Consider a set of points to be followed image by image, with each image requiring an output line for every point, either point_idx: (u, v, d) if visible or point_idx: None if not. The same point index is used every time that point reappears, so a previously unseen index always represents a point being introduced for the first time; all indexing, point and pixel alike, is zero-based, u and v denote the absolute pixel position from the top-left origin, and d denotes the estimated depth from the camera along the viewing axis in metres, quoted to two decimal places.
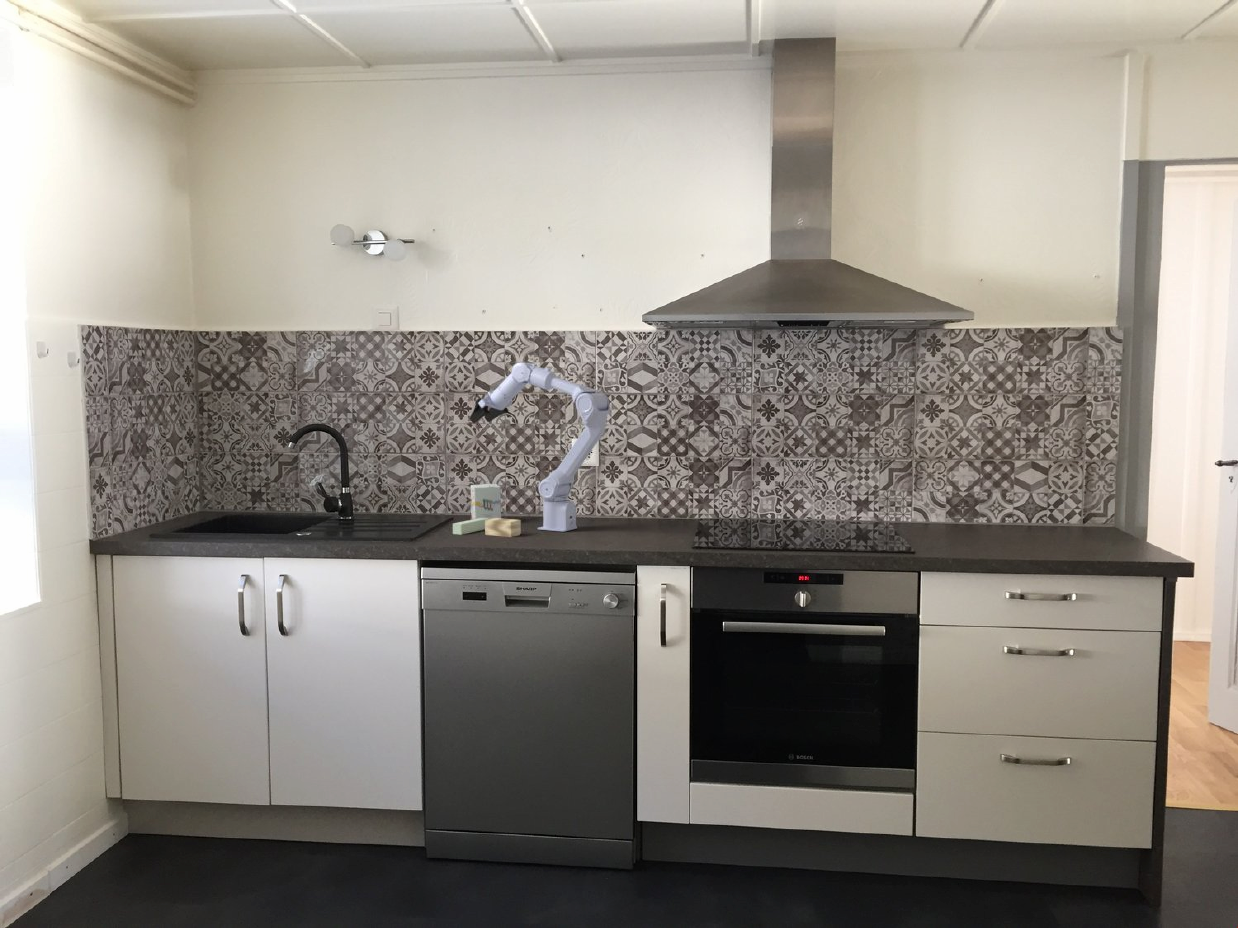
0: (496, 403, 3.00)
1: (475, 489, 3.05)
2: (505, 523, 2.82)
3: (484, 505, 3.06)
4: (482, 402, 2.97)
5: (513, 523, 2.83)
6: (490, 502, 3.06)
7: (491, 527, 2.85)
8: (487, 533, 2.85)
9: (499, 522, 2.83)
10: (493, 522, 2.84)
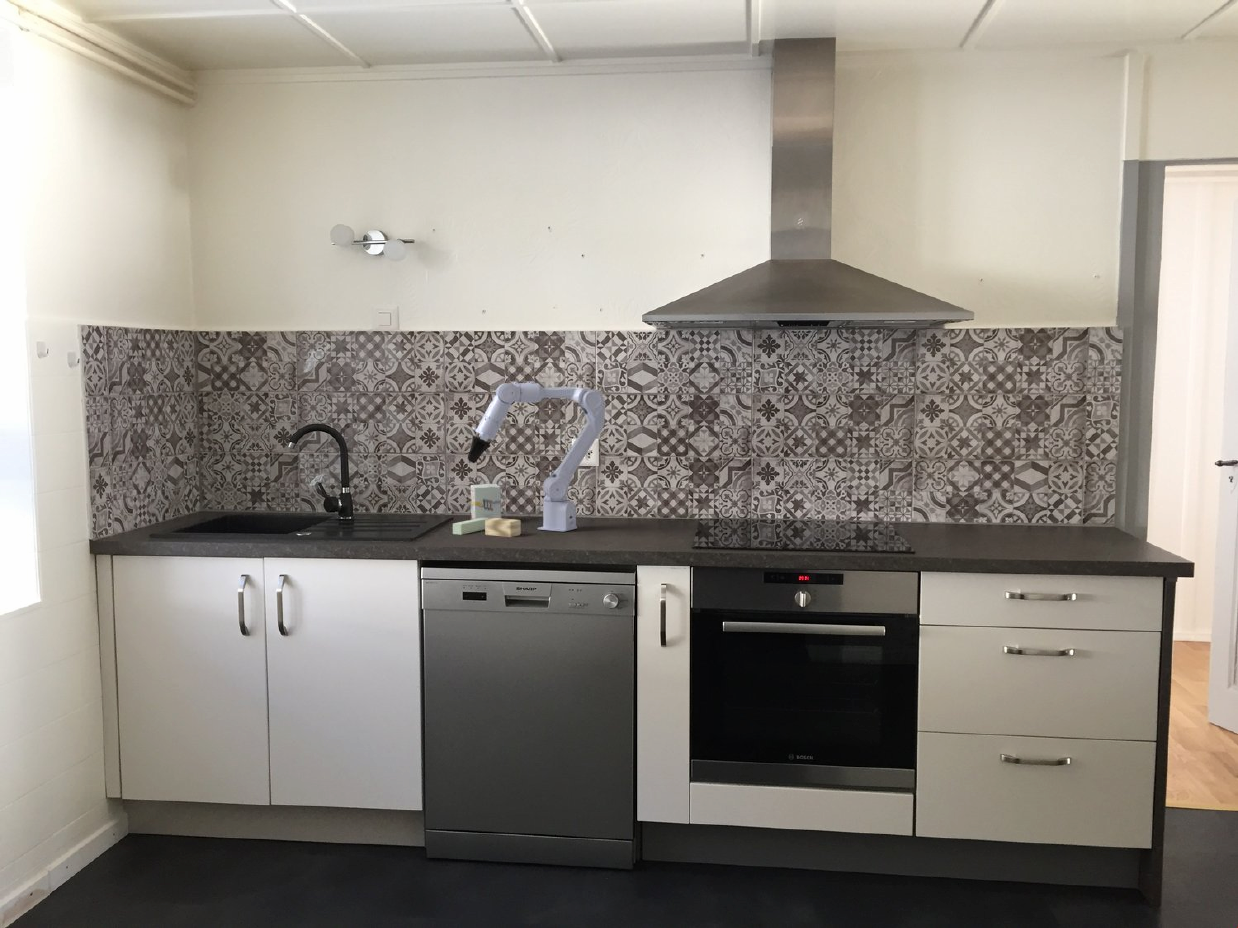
0: (490, 434, 2.87)
1: (475, 489, 3.05)
2: (505, 523, 2.82)
3: (484, 505, 3.06)
4: (485, 435, 2.82)
5: (513, 523, 2.82)
6: (490, 502, 3.06)
7: (491, 527, 2.85)
8: (487, 533, 2.86)
9: (499, 522, 2.83)
10: (493, 522, 2.84)
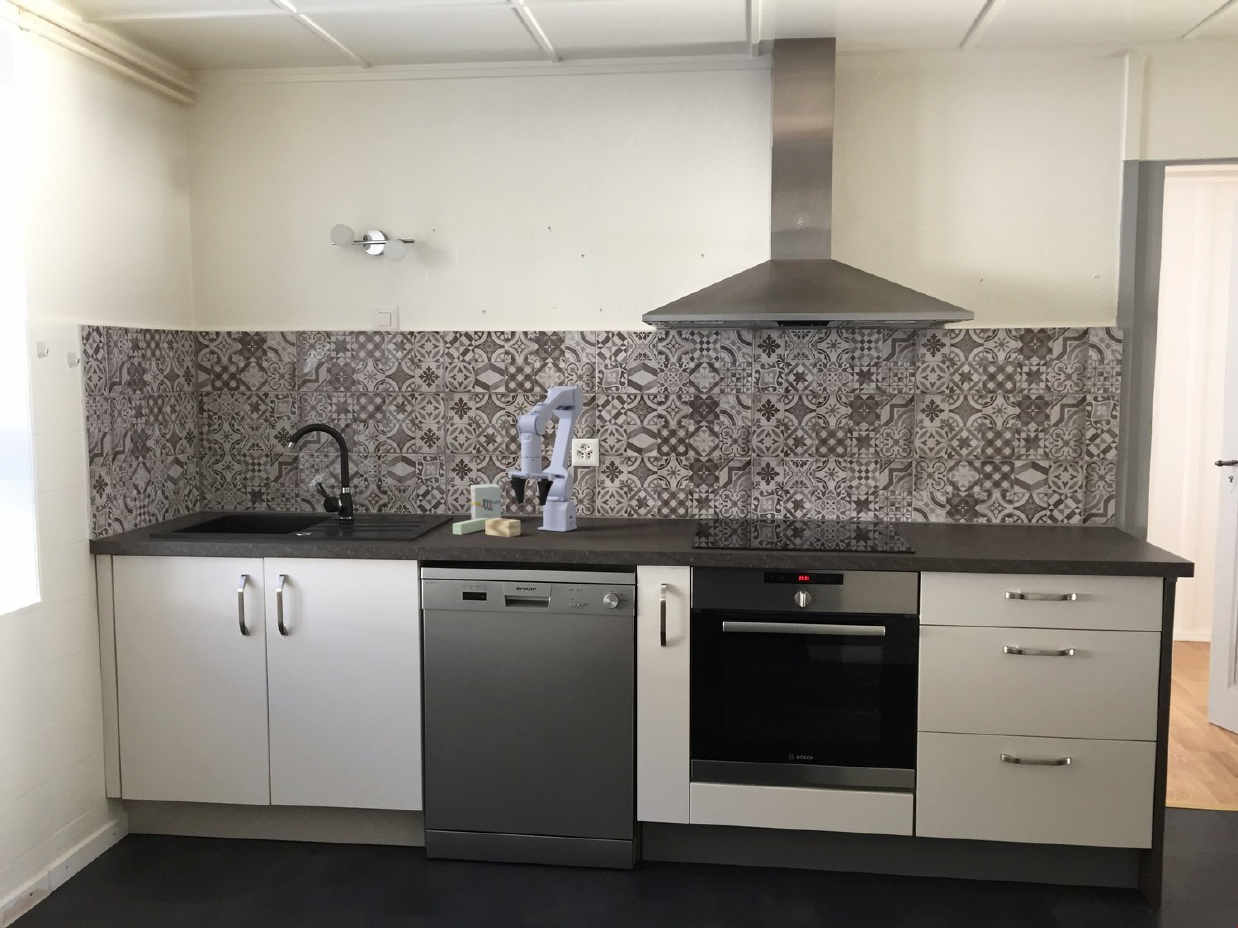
0: (541, 470, 2.80)
1: (475, 489, 3.05)
2: (504, 523, 2.82)
3: (484, 505, 3.06)
4: (553, 475, 2.76)
5: (512, 523, 2.82)
6: (490, 502, 3.06)
7: (491, 527, 2.85)
8: (487, 533, 2.86)
9: (498, 522, 2.83)
10: (493, 522, 2.84)
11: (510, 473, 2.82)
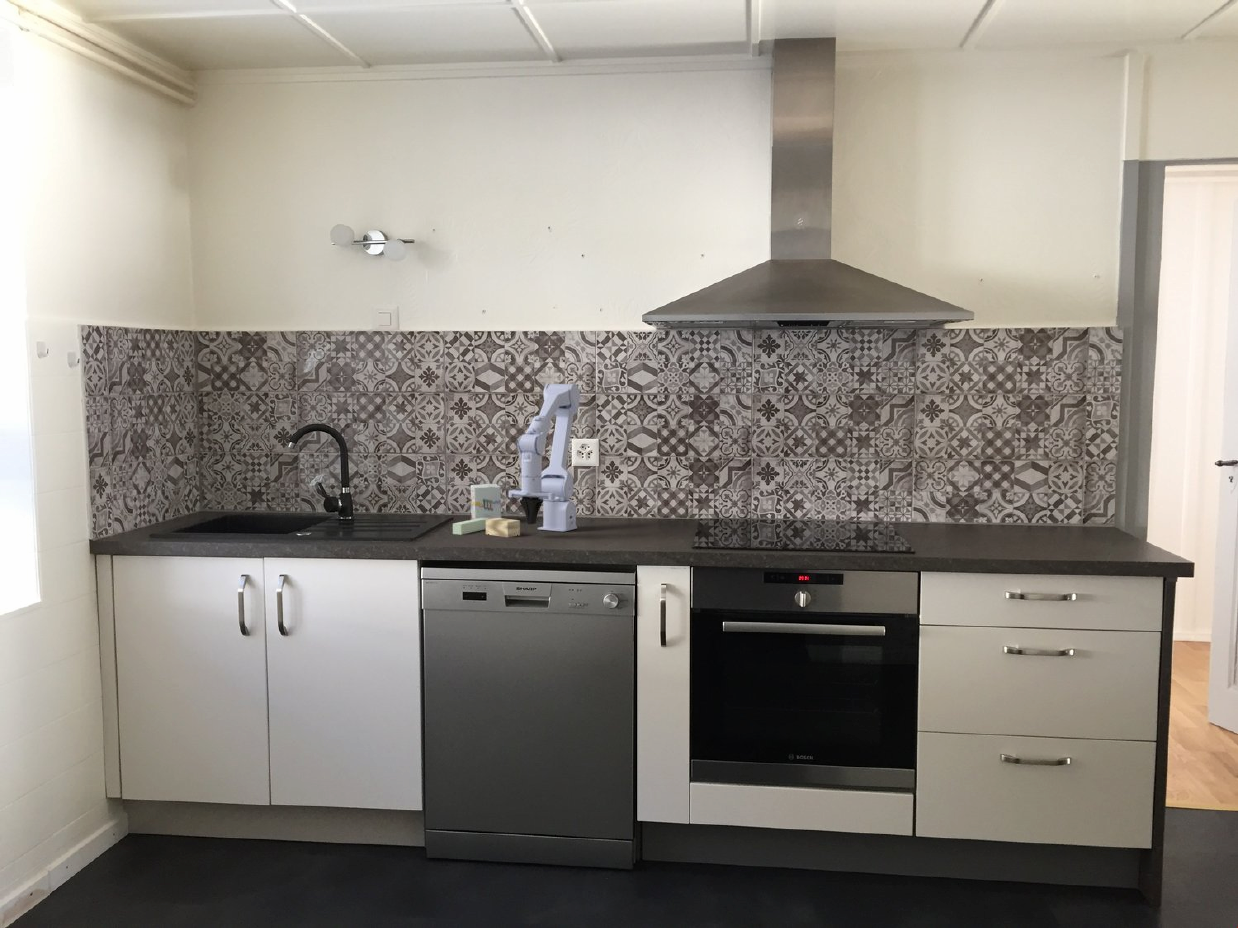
0: (541, 489, 2.80)
1: (475, 489, 3.05)
2: (502, 523, 2.82)
3: (484, 505, 3.06)
4: (553, 494, 2.77)
5: (510, 523, 2.82)
6: (490, 502, 3.06)
7: (490, 526, 2.85)
8: (487, 533, 2.86)
9: (497, 522, 2.83)
10: (492, 522, 2.85)
11: (510, 492, 2.82)
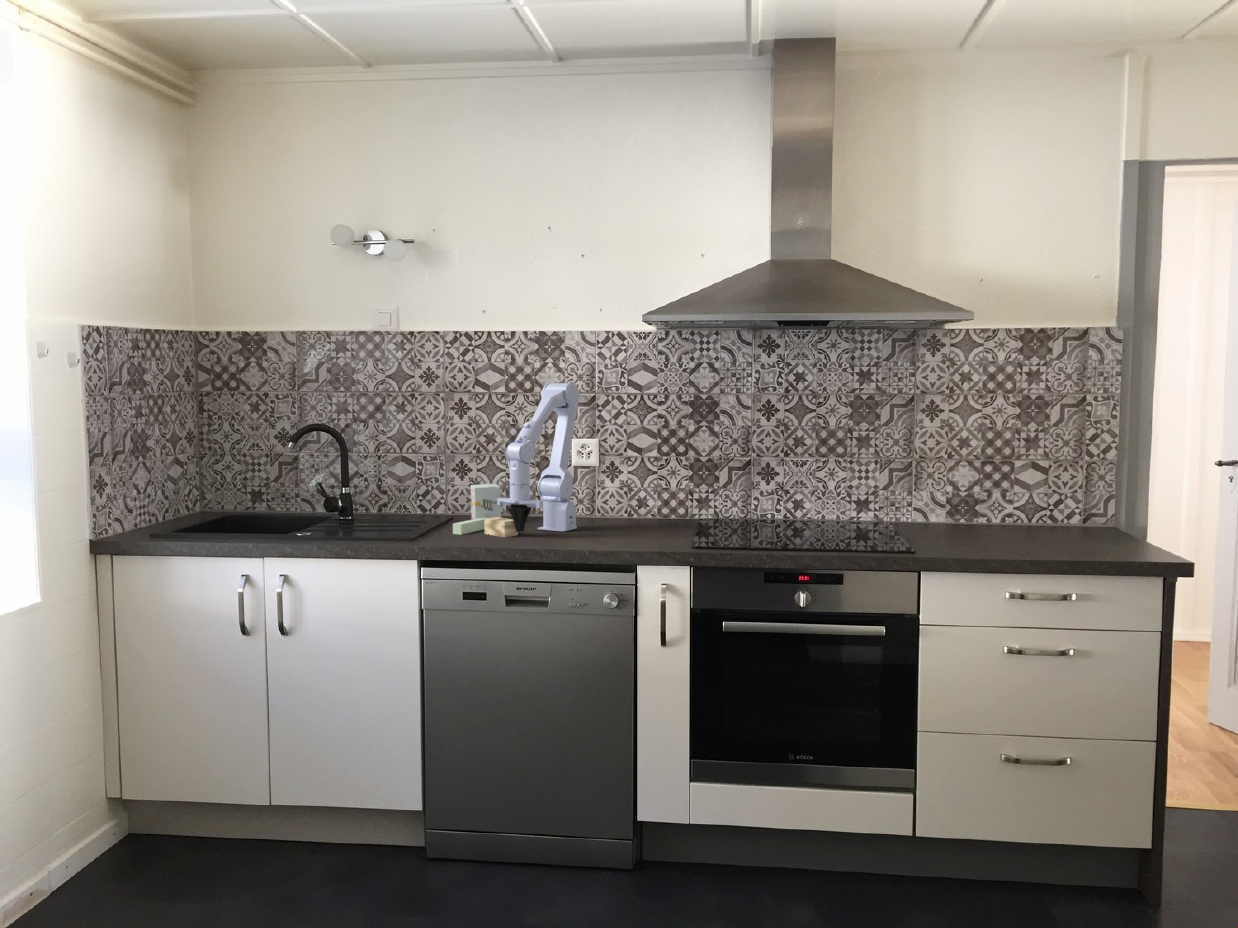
0: (529, 497, 2.82)
1: (475, 489, 3.05)
2: (500, 522, 2.82)
3: (484, 505, 3.06)
4: (541, 502, 2.79)
5: (508, 523, 2.82)
6: (490, 502, 3.06)
7: (489, 526, 2.86)
8: (486, 532, 2.87)
9: (495, 521, 2.84)
10: (490, 521, 2.85)
11: (499, 500, 2.84)
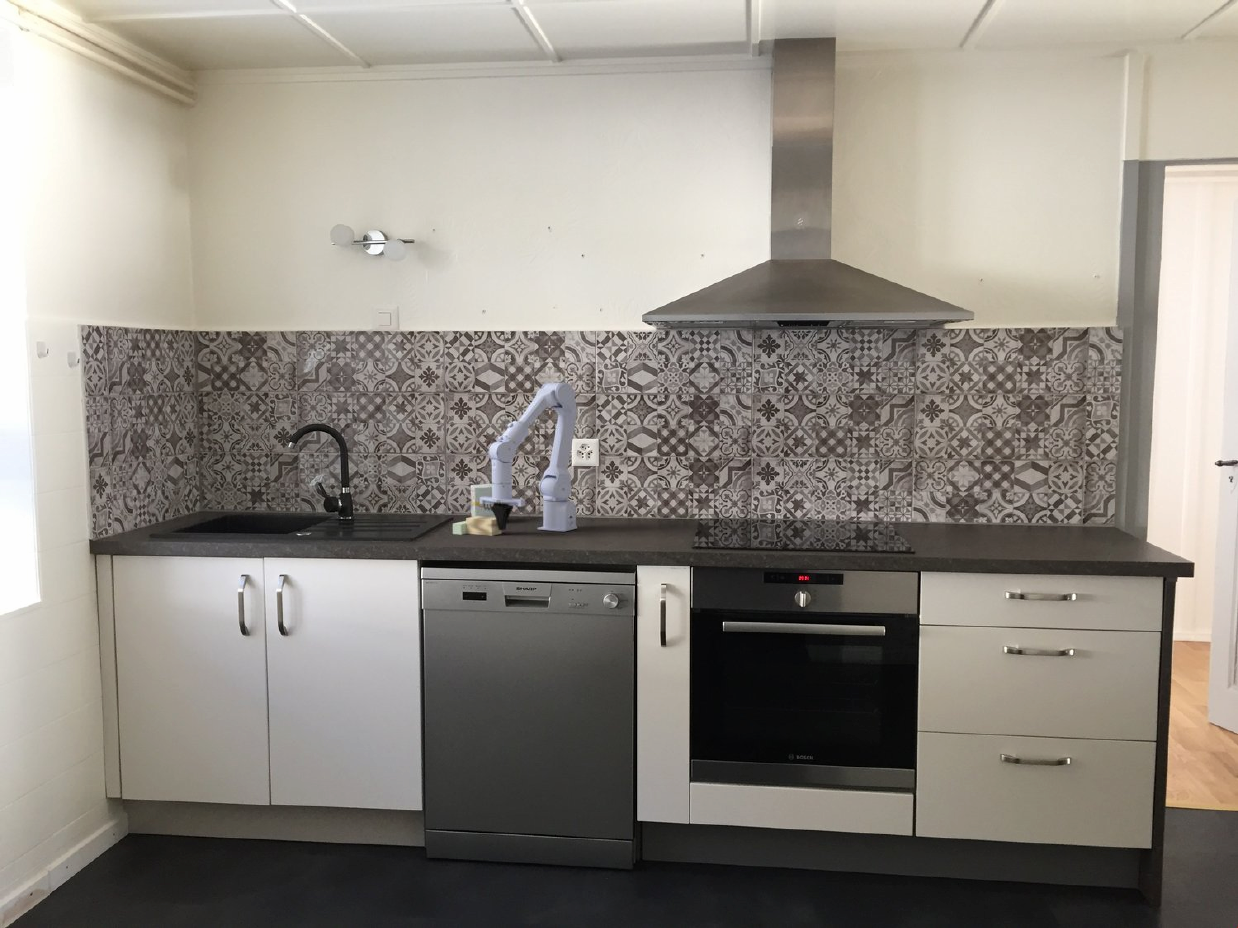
0: (511, 496, 2.85)
1: (475, 489, 3.05)
2: (486, 521, 2.84)
3: (484, 505, 3.06)
4: (522, 501, 2.82)
5: (494, 521, 2.84)
6: None
7: (472, 525, 2.87)
8: (468, 531, 2.87)
9: (480, 520, 2.85)
10: (474, 520, 2.86)
11: (481, 499, 2.87)
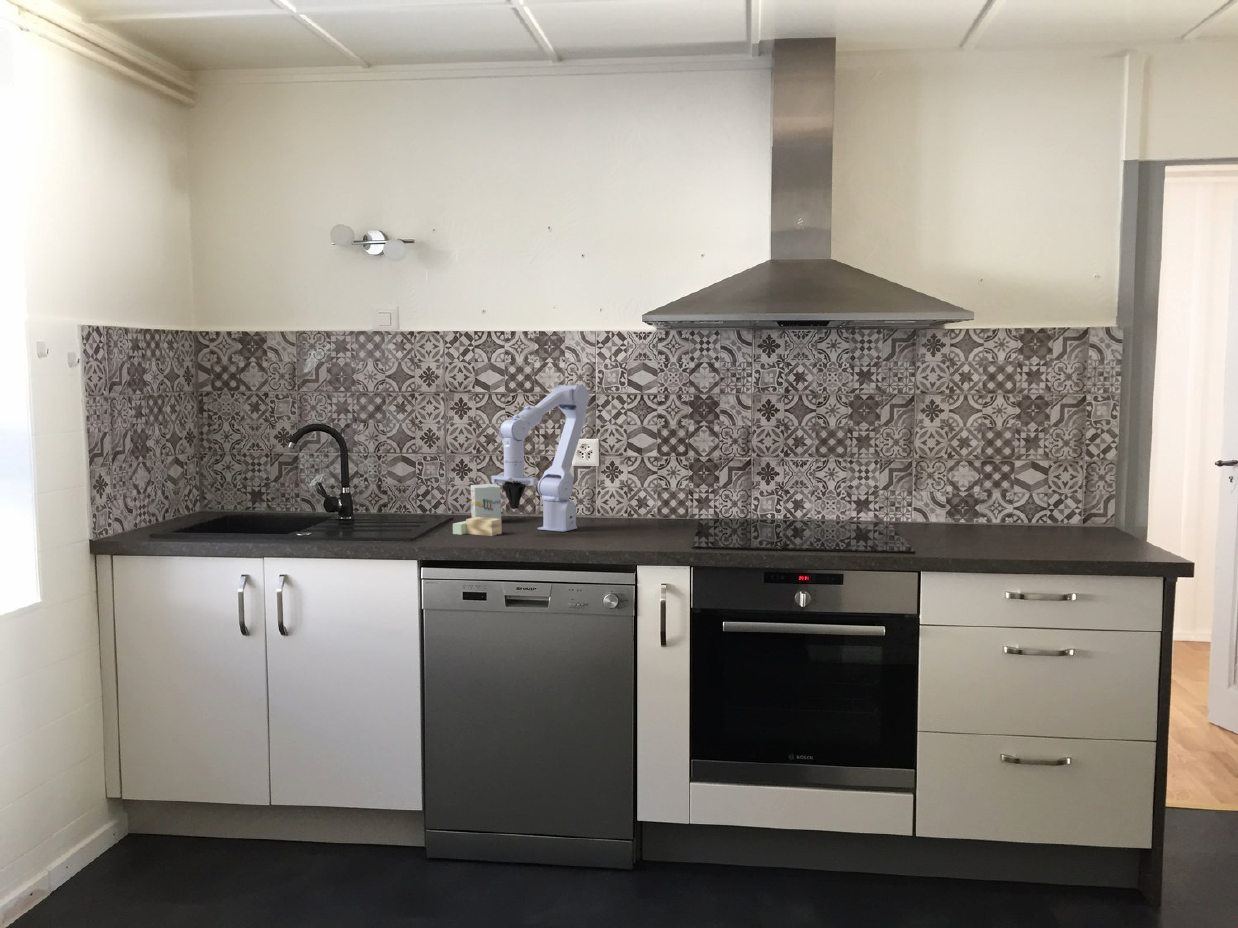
0: (523, 474, 2.83)
1: (475, 489, 3.05)
2: (486, 522, 2.84)
3: (484, 505, 3.06)
4: (535, 479, 2.79)
5: (494, 522, 2.84)
6: (490, 502, 3.06)
7: (472, 526, 2.87)
8: (468, 532, 2.87)
9: (480, 521, 2.85)
10: (474, 521, 2.86)
11: (493, 478, 2.85)
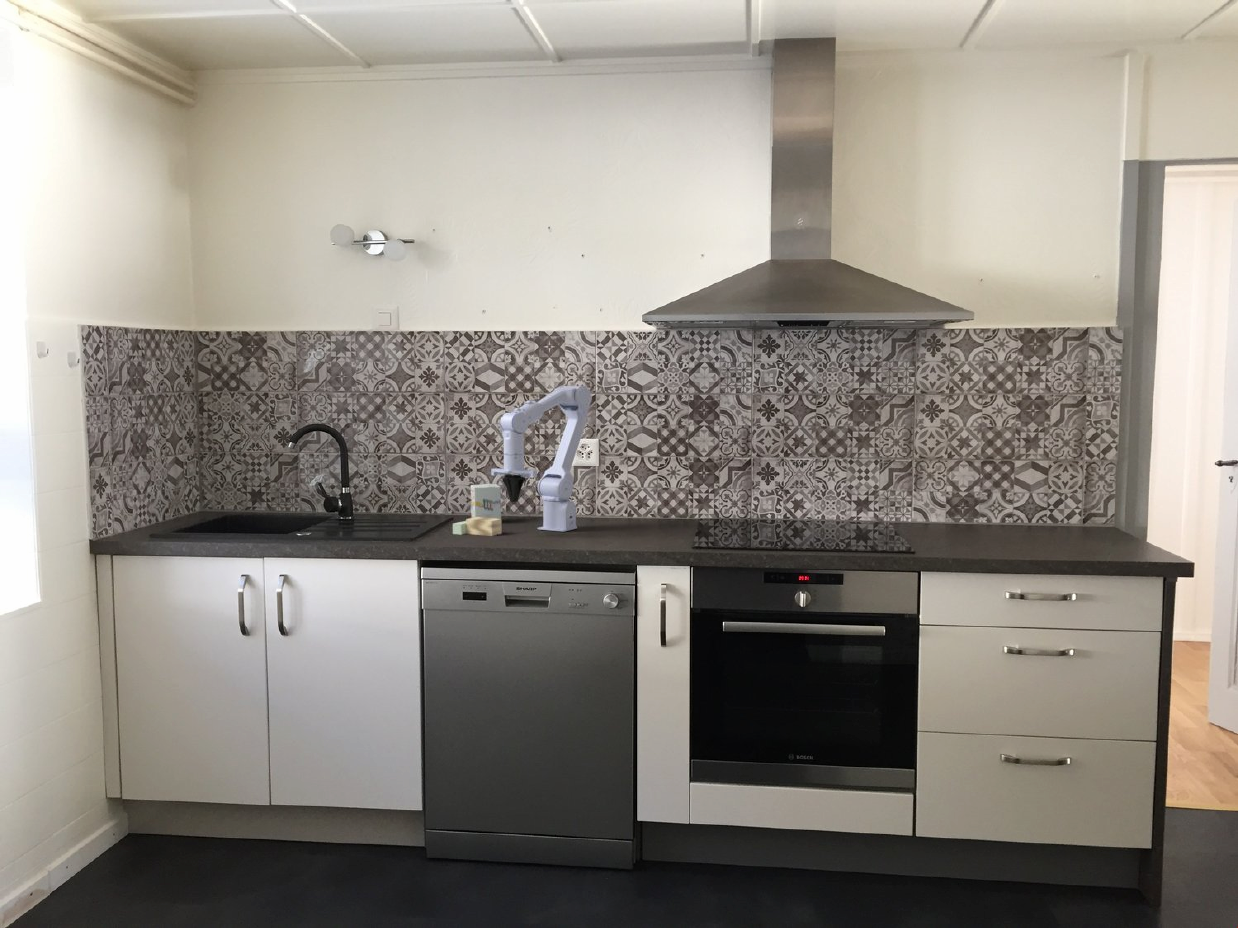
0: (523, 467, 2.82)
1: (475, 489, 3.05)
2: (486, 522, 2.84)
3: (484, 505, 3.06)
4: (535, 472, 2.79)
5: (494, 522, 2.84)
6: (490, 502, 3.06)
7: (472, 526, 2.86)
8: (468, 532, 2.87)
9: (480, 521, 2.85)
10: (474, 521, 2.86)
11: (493, 470, 2.85)
